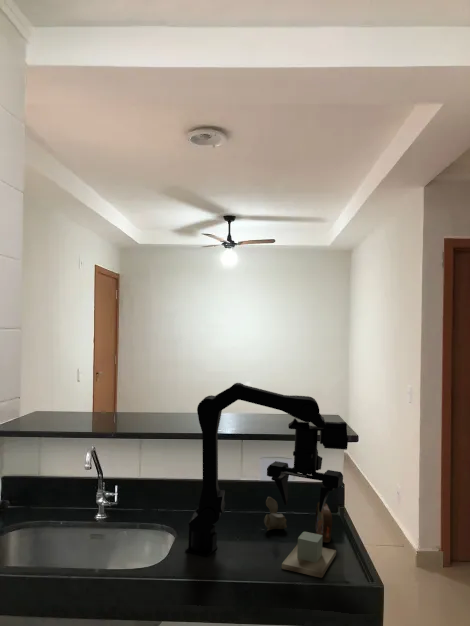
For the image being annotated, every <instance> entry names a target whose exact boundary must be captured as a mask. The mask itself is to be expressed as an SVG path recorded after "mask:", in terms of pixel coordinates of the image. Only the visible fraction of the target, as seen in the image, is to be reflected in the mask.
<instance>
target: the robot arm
mask: <svg viewBox="0 0 470 626" xmlns="http://www.w3.org/2000/svg"><path fill="white" fill-rule="evenodd" d="M237 401H242V402H246V403H251V404H255V405H259V406H263V407H266V408H270V409H274V410H278V411H282V412H283V413H286V414H287V415H289V416H291V417H293V420H292V421H291V422H290V423H288V429H289V430H295V433H294V434H295V435H294V450H293V451H292V455H293V459H294V460H293V467H290V466H289V464H288V462H283V461H276V460H275V461H273V462H272V463H270V464H269V465H268V466H267V469H266V476H267V477H269V478H271V480H272V481H274V483H275V484H276V487H277V489H278V491H279V493H280V495H281V498H282V501H283V503H284V505H285V506H287V505H288V501H289V485H288V483H289V476H291V477H298V478H303V479H309V480H314V481H321V483H322V485H321V487H320V490H319V491H320V492H319V501H318V502H319V512H321V511H322V509H323V507H324V504H325V503H326V501H327V498H328V496H329V494H330V492H333V491H334V490H335V489H338V488H340V486H341V485H343V483H344V475H343V473H342V471H339V470H332V469H331V470H330V469H327V470H326V471H324V472H318V471H320V470H321V469H322V466H323V465H322V463H323V457H322V456H320V455H319V450H318V436H319V444H320V445H322V446H323V448H324V449H331V450H333V449H334V450H344V451H345V450H348V444H349V437H348V429H347V428H348V424H347V422H345V421H325V418H324V416H322V414H321V412H320V407H319V404H318V401H317V400H316V399H315V398H313V397H311V396H309V395H307V396H306V395H289V394H288V395H287V394H286V395H285V394H281V393H278V392H274V391H269V390H265V389H261V388H258V387H252V386H250V385H246V384H243V383H241V382H235V383H233V384H232V385H231V386H230V387H228V388H226V389H225V390H222V391H221V392H219V393H217V394H216V395H211V394H210V395H208V396H205V397H204V398H203V399H202V400H201V401H200V402H199V403H198V405H197V408H196V411H197V418H198V423H199V426H200V430H201V435H202V437H201V438H202V488H201V489H202V490H201V493H200V498H199V503H198V508H196V510H194V512H193V514H192V515H191V518H190V519H189V523H188V543H187V545H188V546H187V547H186V548H185V549H184V551H185V552H187V553H190V554H195V555H199V556H202V557H203V556H204V557H208V556H210V555H211V554H212V553H213V552H215V550H216V549H218V548H219V547H218V544H217V543H218V533H217V531H216V526H217V525H215V524H216V523H218V521H219V519H220V517H221V514H223V513H224V510H225V507H226V502H225V492H226V490H225V489H222V490H221V489H220V486H219V462H218V460H219V448H218V446H219V437H218V436H219V433H218V432H219V427H220V422H221V419H222V418H221V417H222V412H223V410H224V409H227V408H228V407H229V406H231V405H232V404H234V403H235V402H237ZM298 420H300V421H298ZM310 423H311V424H312V425H310Z"/></svg>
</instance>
